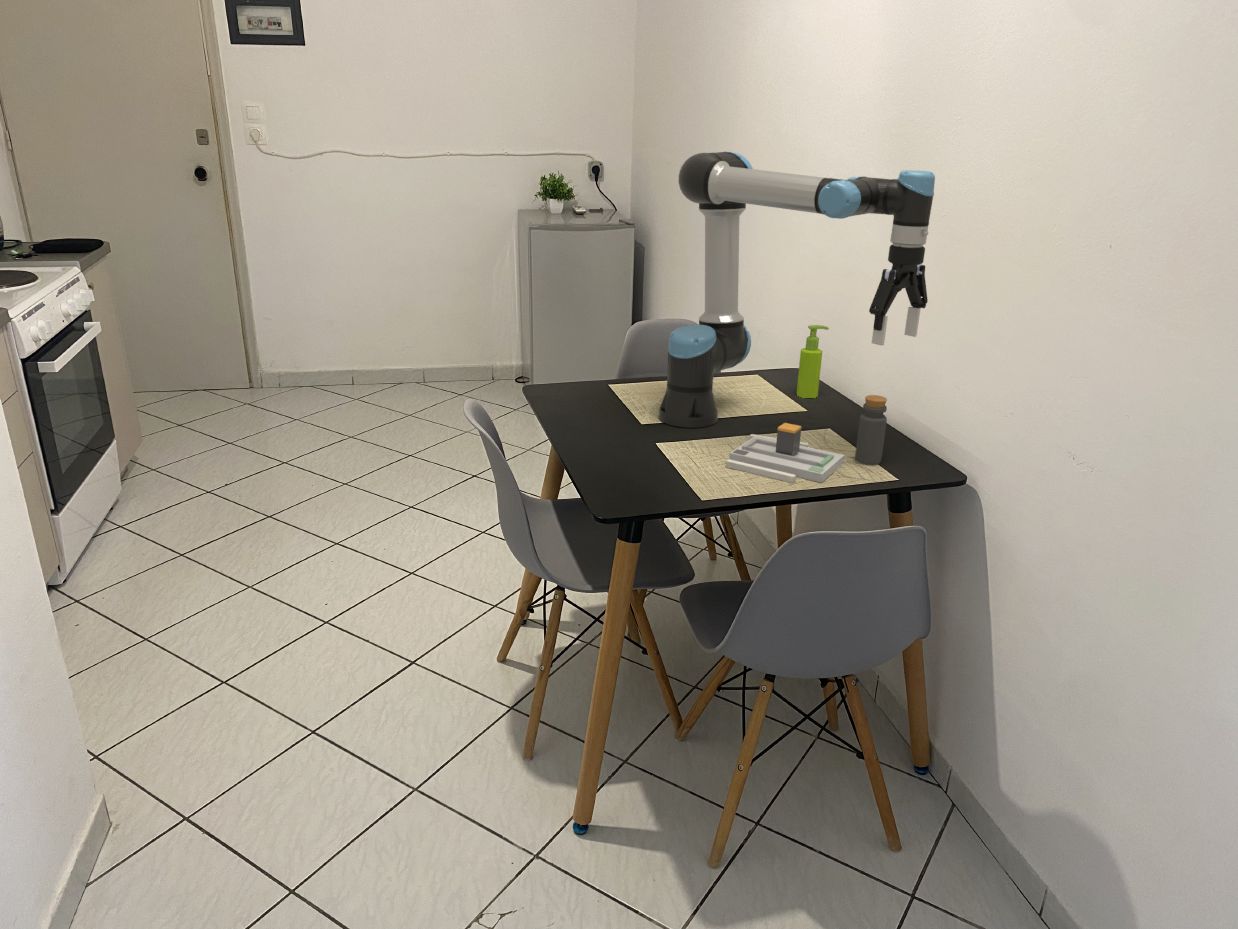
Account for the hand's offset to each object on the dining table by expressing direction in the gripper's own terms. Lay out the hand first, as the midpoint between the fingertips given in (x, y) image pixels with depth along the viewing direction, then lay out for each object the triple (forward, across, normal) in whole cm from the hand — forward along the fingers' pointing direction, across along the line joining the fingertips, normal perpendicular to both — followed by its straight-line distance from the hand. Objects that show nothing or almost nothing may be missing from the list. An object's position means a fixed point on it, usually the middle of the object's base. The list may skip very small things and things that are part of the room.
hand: (894, 339), depth 202 cm
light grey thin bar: (+26, -18, +16) cm, 36 cm away
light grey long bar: (+26, -36, +7) cm, 45 cm away
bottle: (+26, -10, -3) cm, 28 cm away
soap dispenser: (+26, +21, +36) cm, 49 cm away
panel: (+26, -25, +8) cm, 37 cm away
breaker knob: (+24, -25, +8) cm, 36 cm away
